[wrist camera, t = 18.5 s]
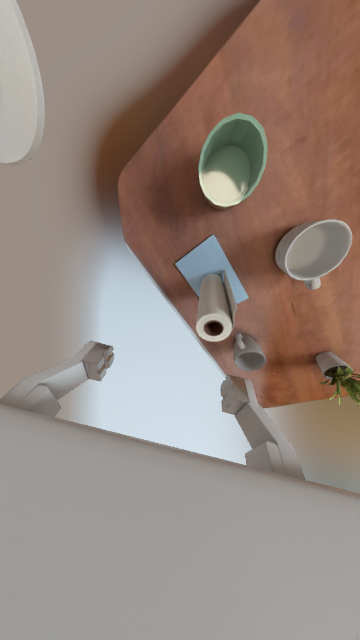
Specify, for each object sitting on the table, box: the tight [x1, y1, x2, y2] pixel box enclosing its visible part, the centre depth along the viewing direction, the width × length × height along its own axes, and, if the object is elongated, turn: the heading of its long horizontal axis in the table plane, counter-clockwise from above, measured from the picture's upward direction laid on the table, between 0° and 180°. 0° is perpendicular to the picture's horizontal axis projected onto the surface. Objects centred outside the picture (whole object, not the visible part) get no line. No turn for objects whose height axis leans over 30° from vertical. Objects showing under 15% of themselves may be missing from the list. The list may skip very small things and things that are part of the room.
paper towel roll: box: [196, 270, 238, 341], centre depth 33 cm, size 7×6×21 cm
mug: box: [233, 333, 266, 371], centre depth 48 cm, size 12×9×10 cm
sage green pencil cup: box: [198, 113, 268, 210], centre depth 26 cm, size 10×10×9 cm
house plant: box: [316, 352, 360, 405], centre depth 44 cm, size 14×14×16 cm
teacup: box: [275, 219, 352, 290], centre depth 32 cm, size 14×11×8 cm
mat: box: [175, 234, 249, 304], centre depth 42 cm, size 20×12×1 cm, turn 37°
